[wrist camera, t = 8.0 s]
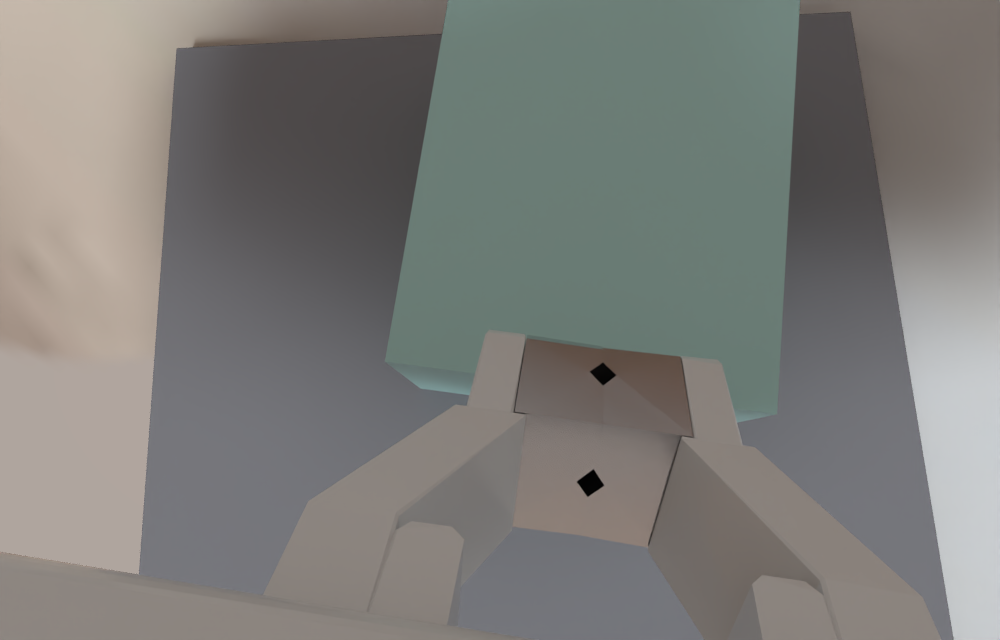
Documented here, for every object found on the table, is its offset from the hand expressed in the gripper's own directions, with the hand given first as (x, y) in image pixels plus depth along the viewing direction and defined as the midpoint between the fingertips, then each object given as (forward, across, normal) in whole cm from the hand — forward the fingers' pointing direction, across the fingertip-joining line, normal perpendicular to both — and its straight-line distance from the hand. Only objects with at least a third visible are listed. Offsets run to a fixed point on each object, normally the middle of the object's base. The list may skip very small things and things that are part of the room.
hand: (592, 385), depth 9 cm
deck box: (+3, 0, +3) cm, 4 cm away
